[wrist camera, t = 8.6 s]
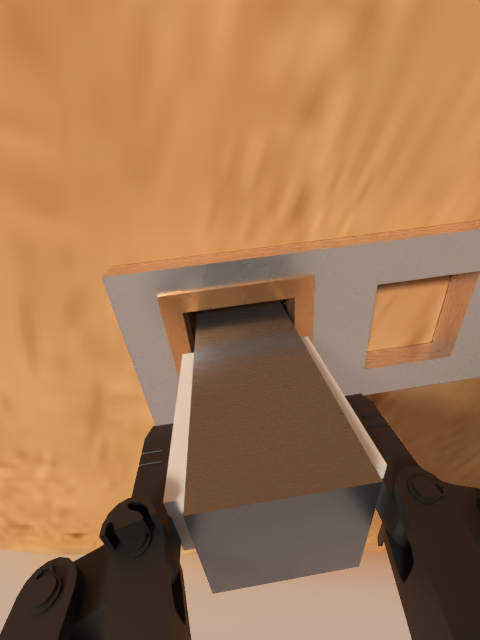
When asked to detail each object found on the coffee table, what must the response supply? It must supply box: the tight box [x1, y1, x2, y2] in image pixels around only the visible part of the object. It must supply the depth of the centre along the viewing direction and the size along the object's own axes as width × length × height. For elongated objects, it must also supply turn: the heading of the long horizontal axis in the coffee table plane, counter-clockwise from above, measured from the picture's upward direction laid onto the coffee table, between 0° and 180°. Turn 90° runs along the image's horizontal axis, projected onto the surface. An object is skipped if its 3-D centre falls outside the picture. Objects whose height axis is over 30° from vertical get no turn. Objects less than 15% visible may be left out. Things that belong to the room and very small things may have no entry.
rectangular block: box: [183, 300, 383, 593], centre depth 11 cm, size 4×4×10 cm
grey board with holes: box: [102, 221, 480, 426], centre depth 16 cm, size 10×32×2 cm, turn 95°
